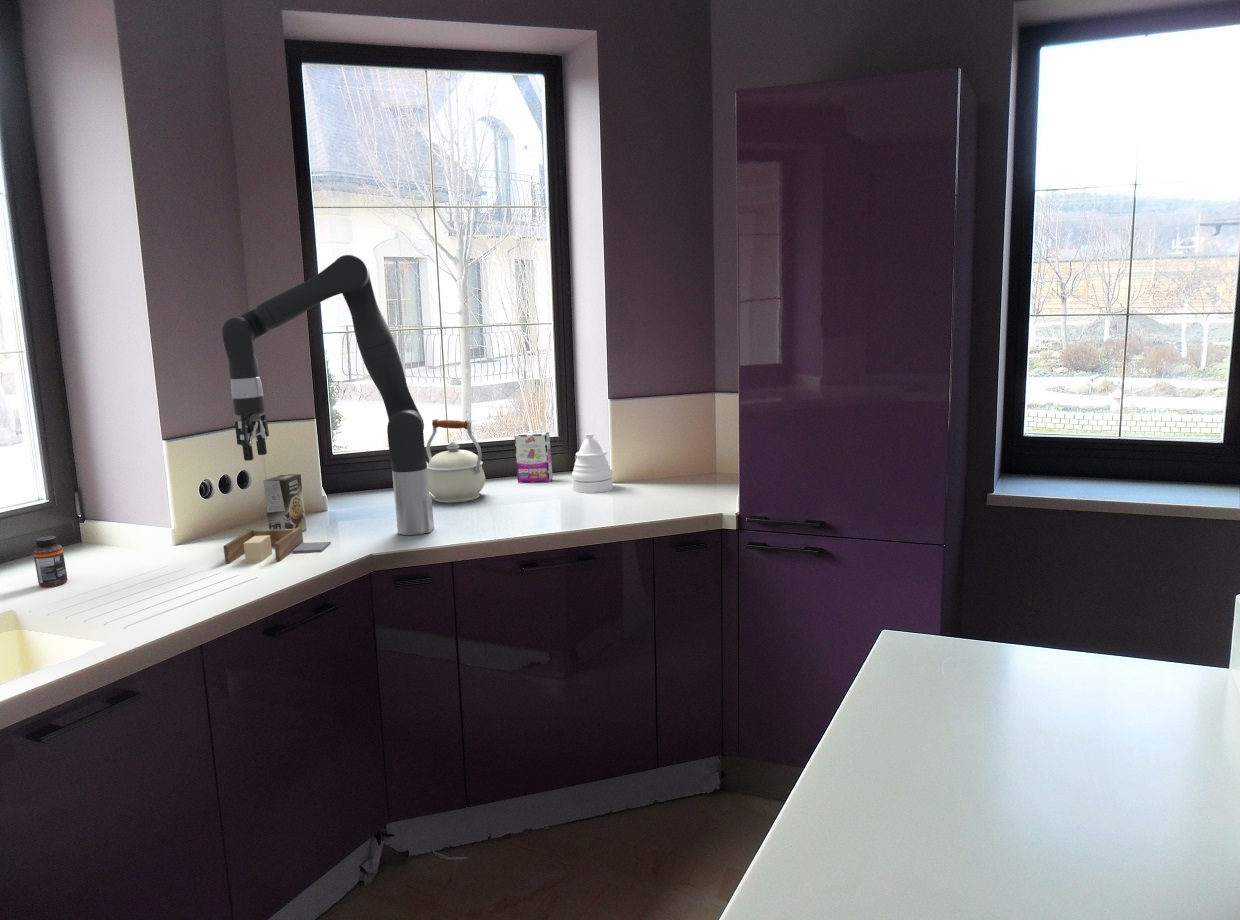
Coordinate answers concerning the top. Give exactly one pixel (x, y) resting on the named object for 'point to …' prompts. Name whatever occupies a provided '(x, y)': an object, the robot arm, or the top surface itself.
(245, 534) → the shelf bay
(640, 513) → the top surface
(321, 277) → the robot arm
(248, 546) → the block
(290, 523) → the coffee box
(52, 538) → the supplement bottle
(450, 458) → the kettle
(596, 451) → the honey pot
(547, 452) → the candy bar box
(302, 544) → the slate pad
